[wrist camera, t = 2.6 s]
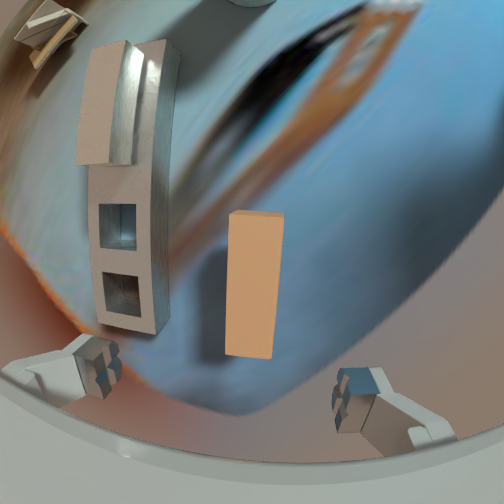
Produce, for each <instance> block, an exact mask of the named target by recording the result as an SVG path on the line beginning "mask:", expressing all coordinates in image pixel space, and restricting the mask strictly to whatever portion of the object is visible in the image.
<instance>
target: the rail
mask: <svg viewBox="0 0 504 504" xmlns="http://www.w3.org/2000/svg"><path fill="white" fill-rule="evenodd" d="M180 56H181V55H180V54H179V53H178V51H177V50H176V49H175V48H174V47H173V46H172V44H171V43H170V42H169V41H168V40H167V39H162V40H156V41H151V42H146V43H141V44H136V45H132V44H131V43H130V42H128V41H127V40H122V41H118V42H115V43H111V44H108V45H104V46H101V47H98V48H95V49H92V52H91V56H90V60H89V65H88V69H87V74H86V79H85V84H84V90H83V96H82V102H81V108H80V116H79V124H78V133H77V143H76V157H75V166H88V234H89V251H90V263H91V274H92V283H93V291H94V299H95V306H96V312H97V318H98V323H102V324H106V325H111V326H115V327H120V328H124V329H129V330H134V331H139V332H144V333H149V334H154V335H156V334H157V333H158V332H159V330H160V329H161V328H162V327H163V325H164V324H165V323H166V322H167V321H168V319H169V318H170V304H169V280H168V190H169V167H170V150H171V136H172V124H173V113H174V103H175V94H176V86H177V78H178V70H179V63H180ZM121 204H136V240H137V241H129V240H121V210H120V208H121ZM123 274H124V275H131V276H138V282H139V296H140V299H136V298H129V297H125V292H124V281H123Z"/></svg>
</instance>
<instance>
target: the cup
mask: <svg viewBox="0 0 504 504" xmlns="http://www.w3.org/2000/svg"><path fill="white" fill-rule="evenodd" d="M229 1H231V2H233V3H234V4H236V5H239V6H244V7H259V6H264V5H267V4H270V3H272V2H274V1H275V0H229Z"/></svg>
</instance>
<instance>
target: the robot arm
mask: <svg viewBox="0 0 504 504" xmlns="http://www.w3.org/2000/svg"><path fill="white" fill-rule="evenodd" d="M118 353H119V348H118V344H117V343H116V342H115V341H111V340H107V339H104V338H100V337H96V336H93V335H89V334H82V335H80V336H79V337H78V338H77V339H75V340H74V341H73V342H72V343H70V344H69V345H68V346H67V347H66V348H64V349H63V350H62V351H60V350H57V351H53V352H49V353H45V354H41V355H36V356H32V357H28V358H24V359H20V360H15V361H12V362H11V363H9V364H8V365H7V366H6V367H4V368H3V369H1V370H0V504H504V423H503V424H501V425H499V426H496V427H494V428H491V429H488V430H486V431H483V432H480V433H478V434H475V435H472V436H469V437H466V438H463V439H460V440H458V439H457V437H456V435H455V434H454V432H453V430H452V428H451V427H450V425H449V423H448V422H447V420H446V419H444V418H442V417H440V416H438V415H437V414H435V413H433V412H431V411H430V410H428V409H426V408H424V407H422V406H421V405H419V404H417V403H415V402H414V401H412V400H410V399H409V398H407V397H405V396H403V395H402V394H400V393H394V391H393V389H392V387H391V385H390V383H389V381H388V379H387V377H386V375H385V374H384V372H383V370H382V368H381V367H367V368H340V370H339V372H338V375H337V380H338V384H337V385H336V386H335V387H334V390H333V394H332V409H333V412H334V413H335V414H336V418H335V424H336V429H337V433H356V432H361V434H362V435H363V436H364V437H365V438H366V439H367V440H368V441H369V442H370V443H371V444H372V445H373V446H374V447H375V448H376V449H377V450H378V451H379V452H380V453H381V454H382V455H384V456H385V457H380V458H372V459H363V460H354V461H342V462H323V463H283V462H281V463H280V462H263V461H251V460H240V459H232V458H225V457H218V456H211V455H205V454H200V453H194V452H189V451H184V450H179V449H174V448H170V447H166V446H162V445H158V444H154V443H151V442H147V441H144V440H140V439H137V438H133V437H130V436H127V435H124V434H121V433H118V432H115V431H112V430H109V429H106V428H104V427H101V426H98V425H96V424H93V423H91V422H88V421H86V420H83V419H81V418H79V417H76V416H74V415H72V414H69V413H67V412H65V411H63V410H61V409H59V408H61V407H63V406H65V405H67V404H69V403H71V402H73V401H75V400H77V399H79V398H81V397H83V396H85V395H86V394H87V395H90V396H93V397H96V398H99V399H103V400H104V399H105V397H107V395H108V394H109V392H110V391H111V385H114V384H116V383H117V382H118V381H119V380H120V377H121V374H122V363H121V360H120V359H119V358H118V356H117V355H118Z"/></svg>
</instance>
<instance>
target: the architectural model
mask: <svg viewBox="0 0 504 504" xmlns="http://www.w3.org/2000/svg"><path fill="white" fill-rule="evenodd" d="M81 22H83V23H85V24H86V25H89V23H88V22H87V21H86V20H85V19H83V18H82V17H80V16H79V15H77V14H76V13H74V12H73V11H71V10H70V9H68V8H66V9H65V8H63V7H62V6H60V5H59V4H57V3H55V2H54V1H52V0H46V1H45V2H44V3H43V4H42V5H41V6H40V7H39V8H38V10H37V11H36V12H35V13H34V14H33V15H32V16H31V18H30V19H29V20H28V21H27V23H26V24H25V25H24V26H23V28H22V29H21V30H20V31H19V33H18V34H17V35H16V37H15V38H14V40H17V41H19V42H22V43H24V44H27V45H29V46H32V47H31V48H33V49H35V50H34V51H33V52H32V54H31V55H30V56H29V58H30V60H31V62H32V64H33V65H34V67H35V69H38V68H39V66H40V65H41V64H42V62H43V61H44V60H45V59H46V57H47V56H48V55H49V54H51V55H52V54H53V53H54V52H55V51H56V50H57V48H58V47H59V46H60V45H61V44H62V43H63V42H65V41H67V40H70V39H72V38H75V37H76V36H78V34H76V33H75V32H74V29H75V28H76V27H77V26H78V25H79V24H80V23H81Z"/></svg>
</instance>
